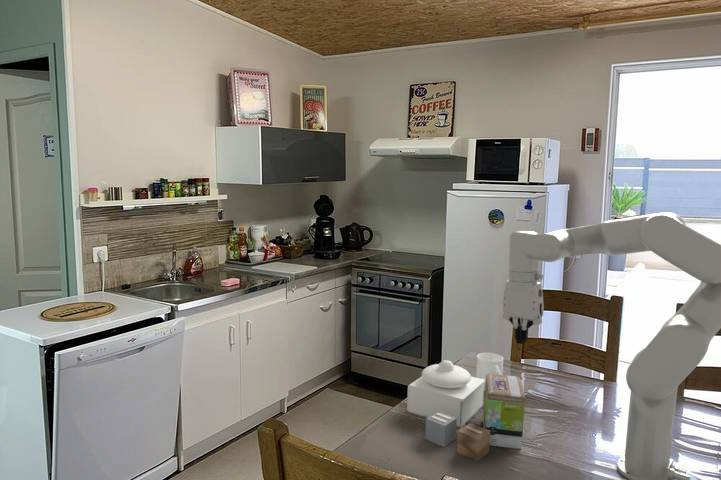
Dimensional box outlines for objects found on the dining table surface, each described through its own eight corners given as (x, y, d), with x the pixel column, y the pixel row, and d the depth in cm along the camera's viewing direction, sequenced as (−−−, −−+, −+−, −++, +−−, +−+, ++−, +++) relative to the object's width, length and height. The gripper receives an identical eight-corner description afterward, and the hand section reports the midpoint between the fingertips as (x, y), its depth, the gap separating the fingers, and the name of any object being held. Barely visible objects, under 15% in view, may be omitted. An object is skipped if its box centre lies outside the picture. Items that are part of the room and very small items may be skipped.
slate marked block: (456, 438, 144) (456, 417, 143) (444, 447, 140) (444, 424, 139) (437, 431, 148) (438, 410, 147) (425, 439, 144) (426, 417, 143)
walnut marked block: (489, 452, 137) (490, 429, 137) (477, 461, 133) (478, 438, 132) (468, 444, 141) (469, 422, 141) (457, 452, 137) (458, 430, 136)
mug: (486, 397, 171) (488, 365, 169) (471, 383, 182) (473, 353, 181) (511, 395, 172) (512, 364, 171) (494, 381, 184) (496, 352, 183)
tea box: (523, 450, 139) (526, 396, 137) (483, 445, 141) (486, 392, 139) (517, 423, 153) (520, 375, 151) (482, 420, 155) (484, 371, 153)
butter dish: (432, 392, 174) (434, 346, 172) (484, 406, 164) (486, 357, 162) (406, 412, 160) (408, 361, 158) (462, 428, 150) (464, 375, 148)
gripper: (555, 277, 140) (553, 344, 142) (503, 271, 150) (501, 334, 152) (545, 282, 135) (542, 351, 137) (491, 275, 144) (489, 340, 146)
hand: (521, 342), depth 144 cm, fingers closed
